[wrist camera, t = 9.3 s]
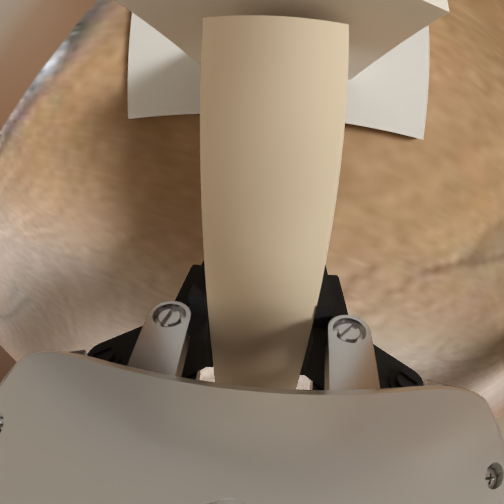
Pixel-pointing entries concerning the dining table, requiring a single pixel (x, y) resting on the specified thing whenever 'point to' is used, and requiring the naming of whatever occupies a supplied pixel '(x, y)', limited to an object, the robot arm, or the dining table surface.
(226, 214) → the beige long bar
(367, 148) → the dining table surface
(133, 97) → the mat
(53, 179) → the dining table surface
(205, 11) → the tile
